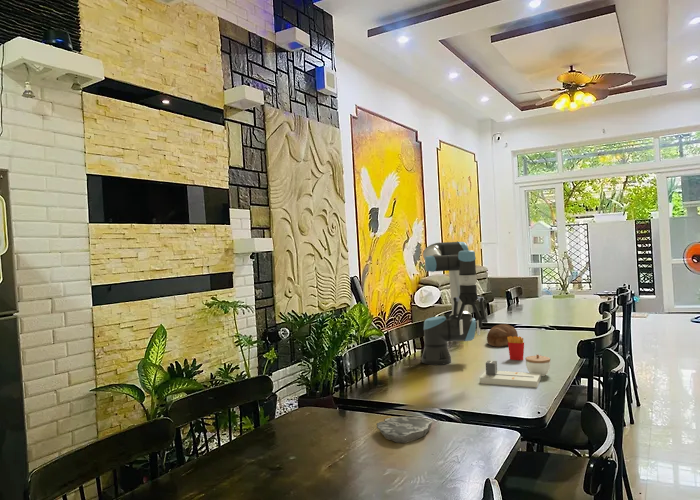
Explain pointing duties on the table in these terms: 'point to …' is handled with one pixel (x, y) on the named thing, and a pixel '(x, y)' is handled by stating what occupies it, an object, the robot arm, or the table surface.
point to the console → (511, 378)
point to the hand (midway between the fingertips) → (470, 334)
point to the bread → (500, 335)
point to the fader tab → (491, 367)
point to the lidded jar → (538, 364)
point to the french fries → (516, 348)
